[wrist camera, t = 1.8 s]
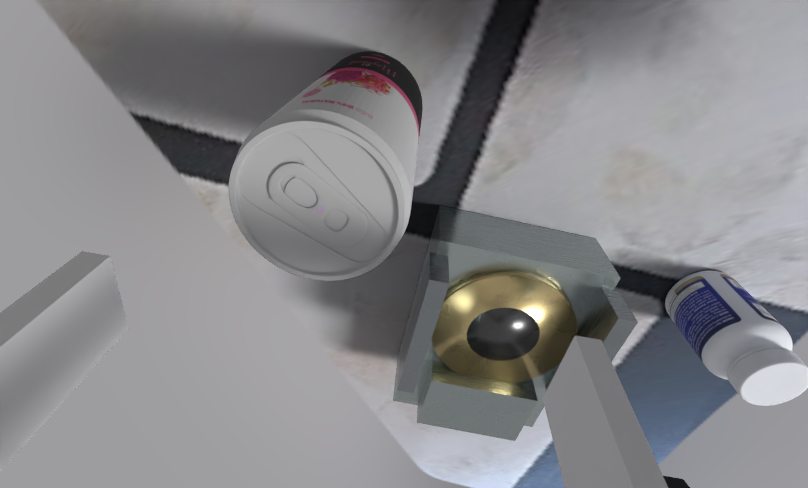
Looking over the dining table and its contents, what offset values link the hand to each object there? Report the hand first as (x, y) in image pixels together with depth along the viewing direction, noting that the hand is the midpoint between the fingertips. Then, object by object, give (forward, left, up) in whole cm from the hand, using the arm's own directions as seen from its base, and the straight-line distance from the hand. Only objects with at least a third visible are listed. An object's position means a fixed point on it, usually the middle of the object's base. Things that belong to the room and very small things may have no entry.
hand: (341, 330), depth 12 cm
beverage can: (-1, -2, -19) cm, 19 cm away
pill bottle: (+8, +26, -19) cm, 33 cm away
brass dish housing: (+13, +10, -19) cm, 25 cm away
